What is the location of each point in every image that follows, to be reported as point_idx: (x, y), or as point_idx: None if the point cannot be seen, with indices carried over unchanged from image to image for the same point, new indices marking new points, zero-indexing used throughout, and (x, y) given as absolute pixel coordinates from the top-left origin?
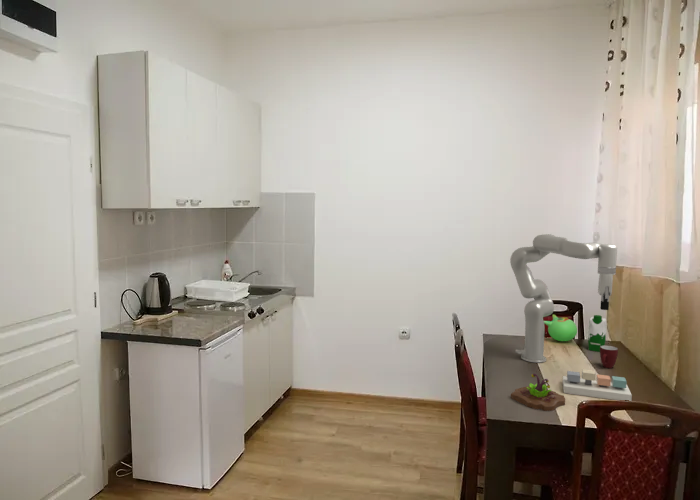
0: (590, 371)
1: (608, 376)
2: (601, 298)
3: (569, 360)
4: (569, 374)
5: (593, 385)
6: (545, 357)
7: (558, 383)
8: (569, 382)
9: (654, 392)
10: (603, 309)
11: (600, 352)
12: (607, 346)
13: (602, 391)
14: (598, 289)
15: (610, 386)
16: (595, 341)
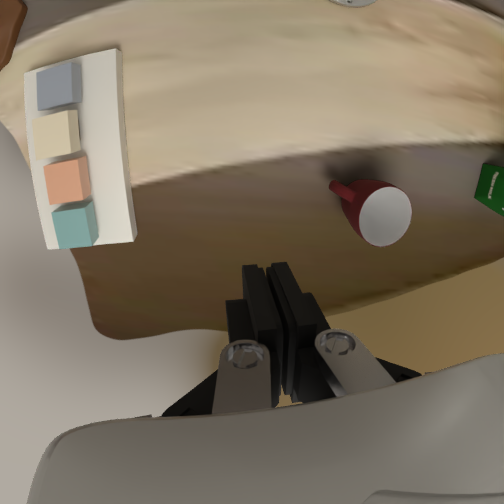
0: (54, 141)
1: (74, 197)
2: (355, 349)
3: (381, 82)
4: (37, 77)
5: None
6: (359, 4)
7: (105, 43)
8: None
9: (162, 299)
10: (244, 291)
11: (372, 182)
12: (409, 213)
13: (32, 176)
14: (457, 452)
15: None
16: (497, 187)
